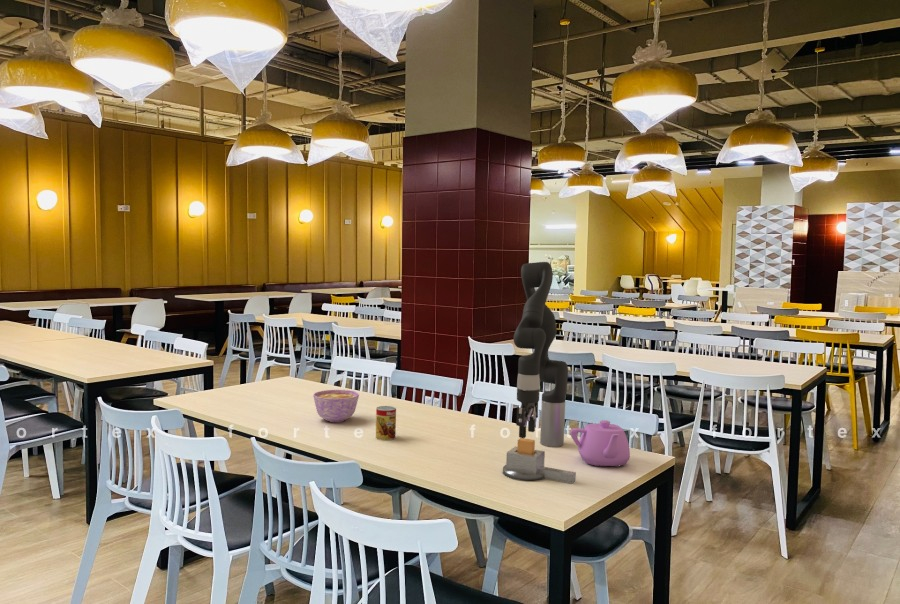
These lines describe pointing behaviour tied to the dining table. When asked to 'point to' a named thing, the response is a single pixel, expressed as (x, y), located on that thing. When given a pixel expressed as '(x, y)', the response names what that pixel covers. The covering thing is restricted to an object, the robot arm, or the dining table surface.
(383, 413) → the canned food
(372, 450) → the dining table surface
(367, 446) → the dining table surface
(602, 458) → the teapot
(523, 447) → the orange block
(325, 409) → the bowl of food
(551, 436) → the robot arm
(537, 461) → the bracket
